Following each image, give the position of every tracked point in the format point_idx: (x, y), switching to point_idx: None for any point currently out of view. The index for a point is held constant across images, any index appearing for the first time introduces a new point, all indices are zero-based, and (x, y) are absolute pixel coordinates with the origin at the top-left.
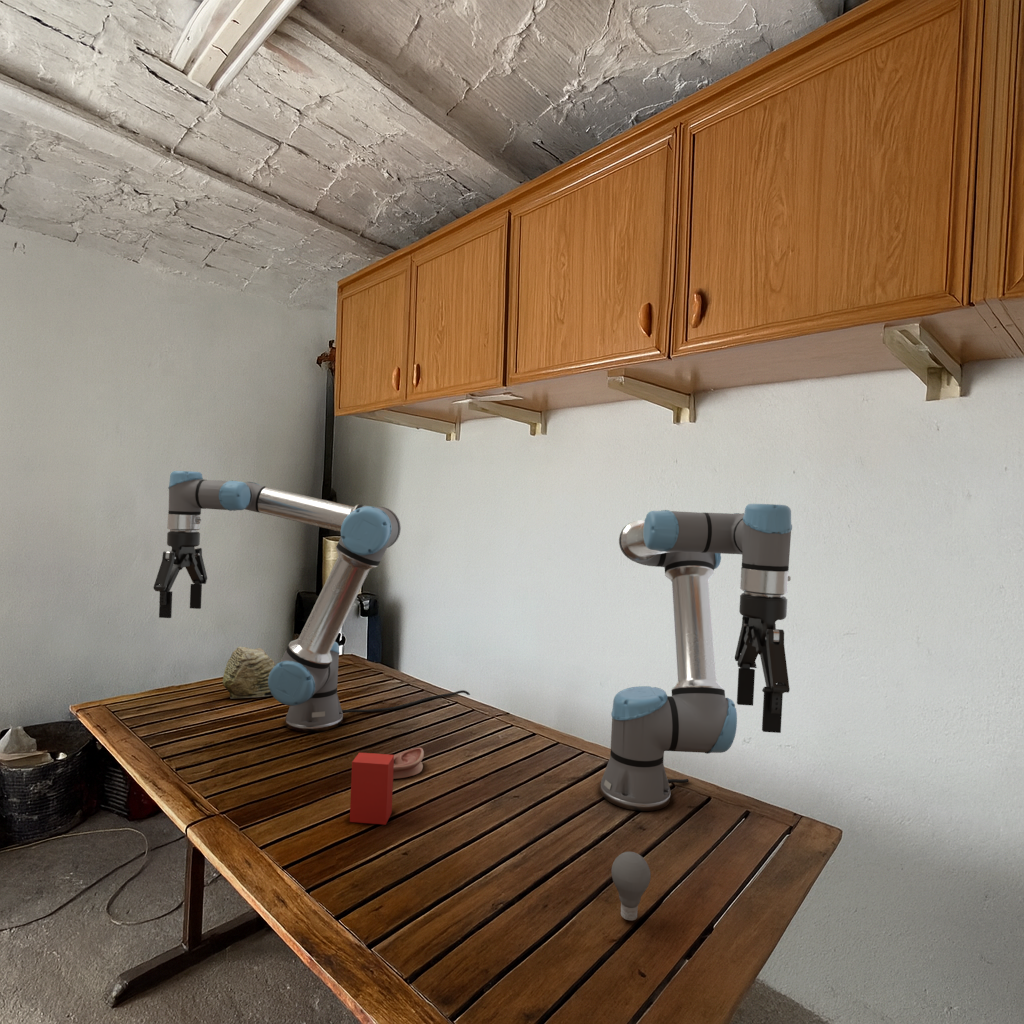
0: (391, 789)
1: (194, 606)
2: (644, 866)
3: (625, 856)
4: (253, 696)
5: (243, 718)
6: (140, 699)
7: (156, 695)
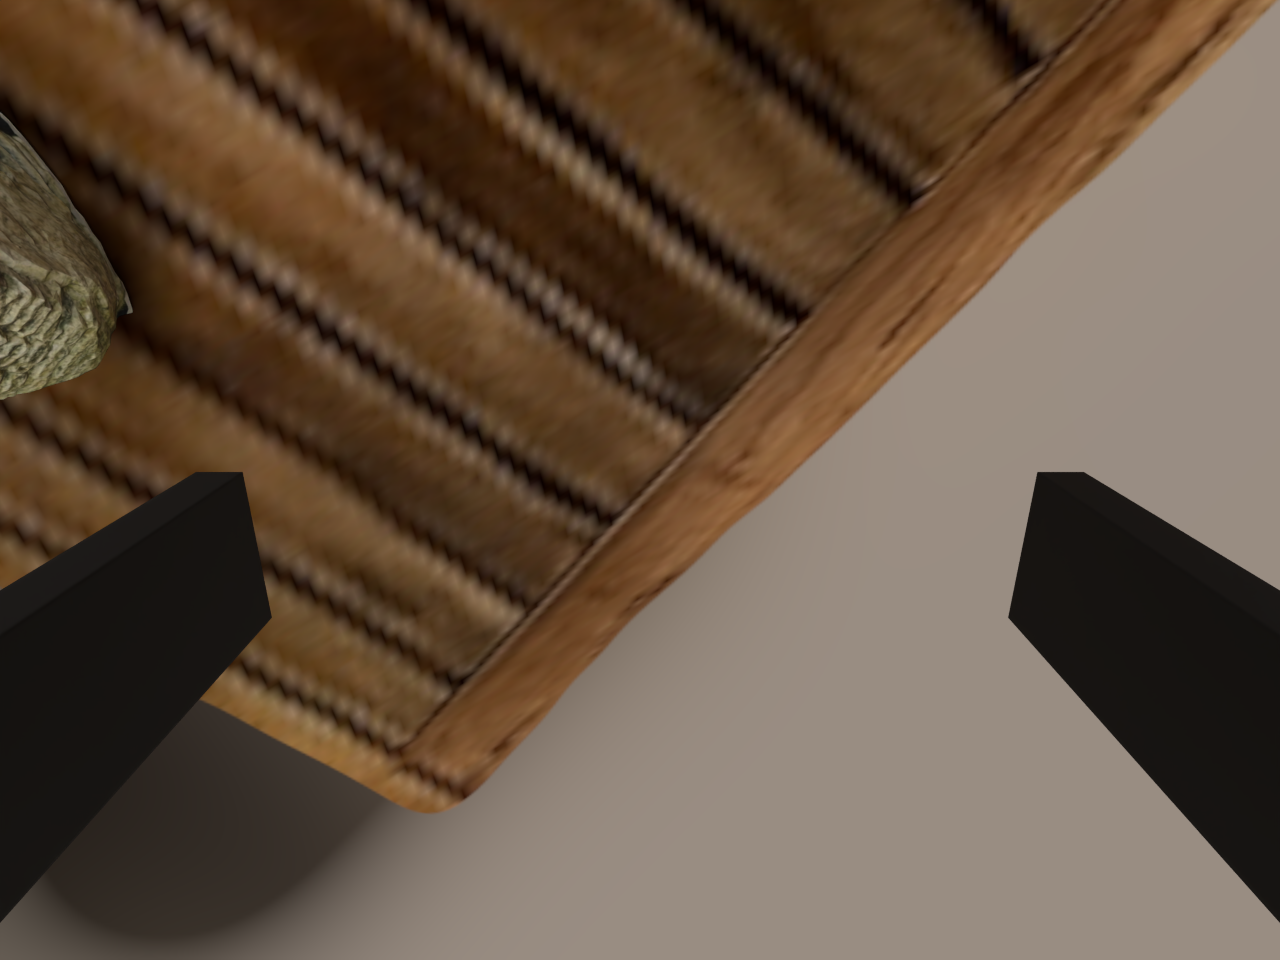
0: None
1: (242, 565)
2: None
3: None
4: (61, 192)
5: (373, 85)
6: (294, 678)
7: None
